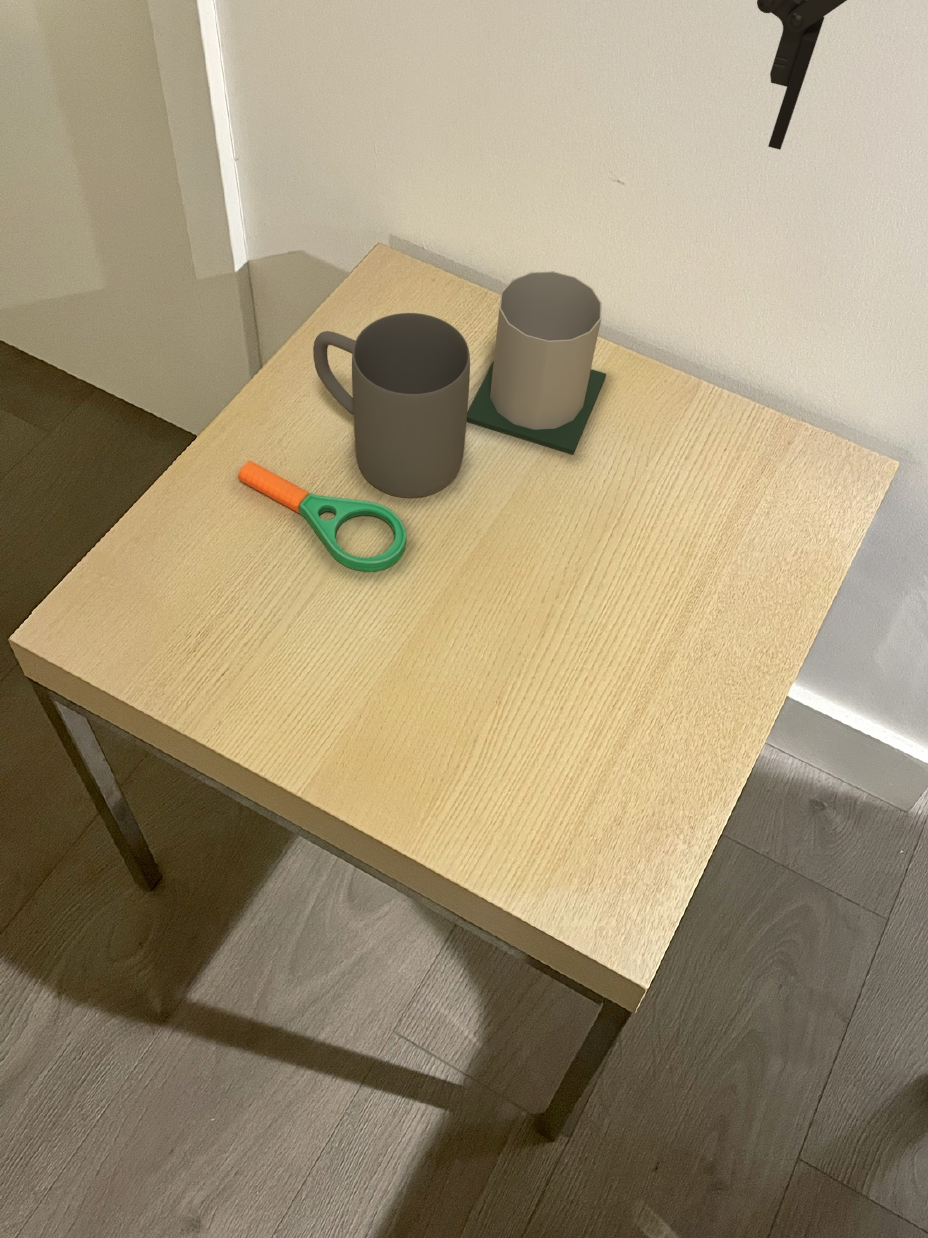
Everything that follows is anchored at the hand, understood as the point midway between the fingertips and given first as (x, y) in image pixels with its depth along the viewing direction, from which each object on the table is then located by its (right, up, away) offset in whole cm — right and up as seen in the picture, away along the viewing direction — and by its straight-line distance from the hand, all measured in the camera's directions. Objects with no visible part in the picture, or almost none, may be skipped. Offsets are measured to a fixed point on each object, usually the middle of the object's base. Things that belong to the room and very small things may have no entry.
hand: (890, 165), depth 64 cm
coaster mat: (-19, -7, +32) cm, 38 cm away
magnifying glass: (-37, -19, +24) cm, 48 cm away
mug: (-32, -12, +28) cm, 44 cm away
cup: (-19, -7, +31) cm, 37 cm away
